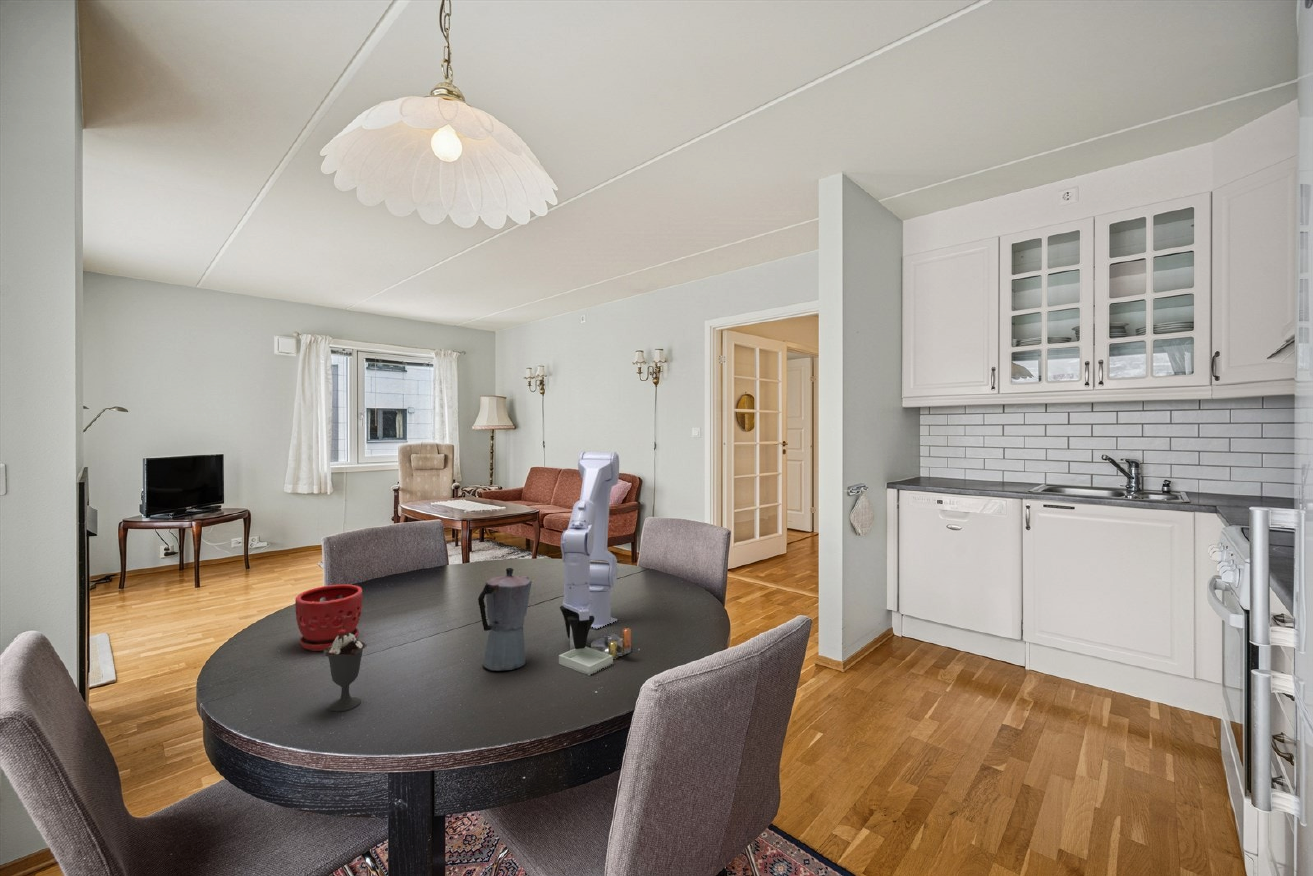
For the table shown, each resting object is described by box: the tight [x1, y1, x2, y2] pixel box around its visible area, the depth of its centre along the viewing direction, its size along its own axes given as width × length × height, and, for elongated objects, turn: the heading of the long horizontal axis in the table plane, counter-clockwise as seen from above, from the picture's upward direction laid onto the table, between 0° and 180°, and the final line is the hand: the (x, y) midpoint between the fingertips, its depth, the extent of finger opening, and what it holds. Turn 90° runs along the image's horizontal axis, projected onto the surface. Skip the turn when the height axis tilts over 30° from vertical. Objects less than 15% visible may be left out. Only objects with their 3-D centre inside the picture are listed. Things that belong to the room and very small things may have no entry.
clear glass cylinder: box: [569, 625, 575, 651], centre depth 121 cm, size 3×3×6 cm
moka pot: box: [477, 567, 532, 672], centre depth 113 cm, size 10×15×20 cm, turn 161°
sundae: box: [323, 619, 368, 712], centre depth 95 cm, size 7×7×15 cm
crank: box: [603, 627, 632, 654], centre depth 119 cm, size 9×3×5 cm, turn 36°
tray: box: [558, 645, 614, 677], centre depth 114 cm, size 9×7×2 cm
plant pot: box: [295, 584, 364, 652], centre depth 123 cm, size 13×13×12 cm
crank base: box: [590, 636, 624, 660], centre depth 121 cm, size 9×9×3 cm
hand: (576, 642), depth 121 cm, fingers open, 6 cm apart
